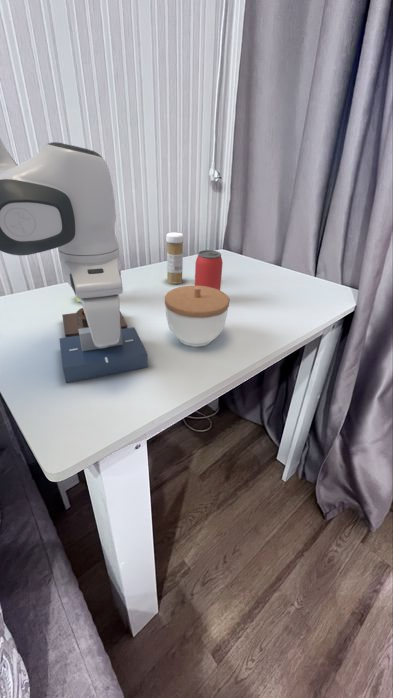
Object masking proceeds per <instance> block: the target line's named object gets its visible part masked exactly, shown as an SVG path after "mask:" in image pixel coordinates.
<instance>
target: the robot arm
mask: <svg viewBox="0 0 393 698" xmlns="http://www.w3.org/2000/svg"><path fill="white" fill-rule="evenodd" d="M116 220H117V209H116V202H115V193H114V187H113V181H112V176H111V172H110V169H109V165H108V163H107V161H106V160H105V158H104V157H103V156H102V155H101V154H99V153H98V152H96V151H95V150H93V149H89V148H84V147H81V146H77V145H72V144H67V143H63V142H57V141H53V142H52V141H51V142H49V143H48V142H47V143H46V144H45V146H44V147H43V148H42V149H41V150H40V151H39V152H37V153H36V154H34V155H33V156H31V157H30V158H28V159H27V160H25V161H23V162H21V163H19V164H18V163H17V162H16V161H15V160H14V159H13V157H12V156H11V154H10V153H9V151H8V150H7V148H6V146H5V144H4V143H3V141H2V138H1V137H0V252H1V253H2V252H3V253H5V254H8V255H11V256H22V257H23V256H30V255H35V254H40V253H44V252H47V251H51V250H54V249H57V252H58V258H59V263H60V269H61V272H62V278H63V280H64V281H65V282H66V283H67V284H68V285H69V286H70V288H71V289H72V291H73V293H74V295H75V294H76V296H75V298H76V297H77V298H78V299H80V301H81V302H80V303H81V306H82V308H83V309H84V312H85V316H86V319H87V323H88V326H89V330H90V333H91V336H92V339H93V342H94V344H95V346H96V347H98V348H100V349H102V348H107V347H108V346H109V345H114V344H117V343H118V342H119V338H120V312H121V307H120V305H121V303H120V296H119V295H123V292H124V289H123V281H122V269H121V258H120V257H121V256H120V247H119V241H118V239H117V236H116V230H115V229H116V227H115V225H116Z"/></svg>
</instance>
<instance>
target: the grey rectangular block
mask: <svg viewBox="0 0 393 698" xmlns="http://www.w3.org/2000/svg"><path fill="white" fill-rule="evenodd" d="M78 330H79V335H80V341H81V347H82V351H88V350H94V349H100V348H98V347H96V346H95V344H94V342H93V339H92V336H91V333H90V330H89V328H82V329H78ZM118 345H123V343H122V333H121V327H120V338H119V342H118V343H117V344H114V345H109V346H108V347H112V346H118Z"/></svg>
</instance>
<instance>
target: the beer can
mask: <svg viewBox="0 0 393 698" xmlns="http://www.w3.org/2000/svg"><path fill="white" fill-rule="evenodd" d="M223 264H224V263H223V258H222V253H221V252H219V251H216V250H211V249H205V250H200V251H198V253H197V257H196V260H195V269H194V286H206V287H211V288H215V289H218V290H220V291H221V287H222V273H223Z"/></svg>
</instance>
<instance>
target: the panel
mask: <svg viewBox="0 0 393 698" xmlns="http://www.w3.org/2000/svg"><path fill="white" fill-rule="evenodd" d="M121 333H122V343H123V345H118V346H112V347H107V348H102V349H94V350H88V351H82V347H81V341H80V335H79V336H72V337H60V338H59V349H60V356H61V357H60V358H61V366H62V367H61V368H62V372H63V376H64V381H65V384H68V383H73V382H78V381H85V380H88V379H94V378H99V377H103V376H109V375H114V374H119V373H125V372H130V371H135V370H141V369H144V368H149V364H148V363H149V362H148V360H149V359H148V352H147V349H146V348H145V346H144V344H143V341H142V340H141V338H140V336H139V334H138V332H137V329H136V328H135V326H134V327H127V328H126V329H121Z"/></svg>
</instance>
